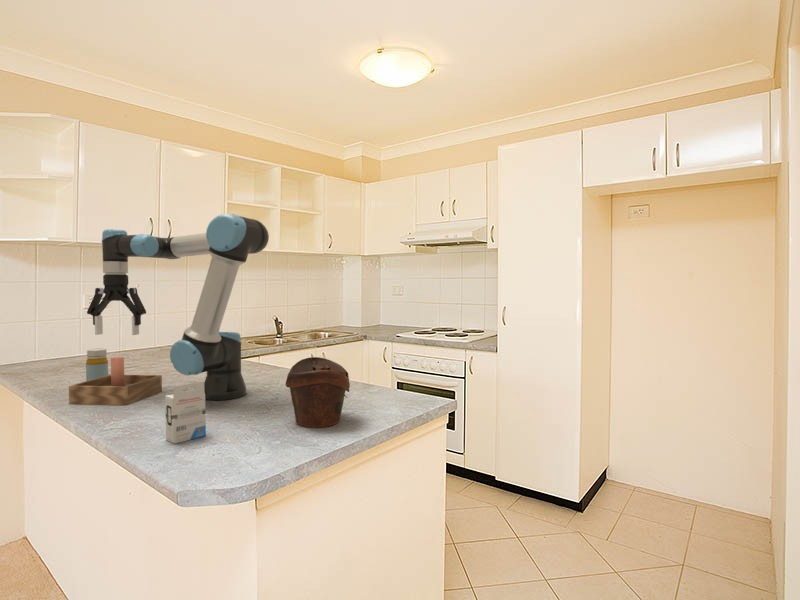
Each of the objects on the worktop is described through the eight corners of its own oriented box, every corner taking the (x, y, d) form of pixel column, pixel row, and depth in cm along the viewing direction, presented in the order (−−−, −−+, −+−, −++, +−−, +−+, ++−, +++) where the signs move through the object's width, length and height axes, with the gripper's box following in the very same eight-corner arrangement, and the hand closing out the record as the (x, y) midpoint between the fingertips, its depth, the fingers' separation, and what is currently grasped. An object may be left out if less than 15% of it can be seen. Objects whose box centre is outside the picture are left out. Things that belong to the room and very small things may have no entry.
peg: (127, 396, 164) (126, 357, 164) (119, 398, 160) (118, 358, 160) (116, 395, 164) (115, 356, 164) (108, 398, 160) (107, 358, 160)
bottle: (97, 391, 171) (96, 351, 171) (81, 390, 173) (81, 350, 172) (112, 387, 178) (112, 348, 178) (97, 386, 180) (96, 348, 179)
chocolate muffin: (324, 435, 121) (324, 368, 121) (271, 424, 132) (271, 361, 132) (364, 420, 136) (364, 360, 136) (314, 410, 147) (314, 354, 147)
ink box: (197, 432, 125) (196, 378, 124) (206, 435, 122) (205, 380, 121) (165, 440, 118) (164, 383, 118) (173, 444, 115) (172, 386, 114)
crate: (162, 391, 172) (161, 375, 171) (126, 405, 152) (125, 387, 151) (111, 390, 173) (110, 374, 173) (69, 403, 153) (68, 386, 153)
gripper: (156, 274, 164) (157, 333, 164) (90, 274, 165) (91, 333, 166) (142, 273, 156) (144, 335, 157) (73, 274, 158) (75, 335, 159)
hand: (117, 334), depth 162 cm, fingers open, 13 cm apart
